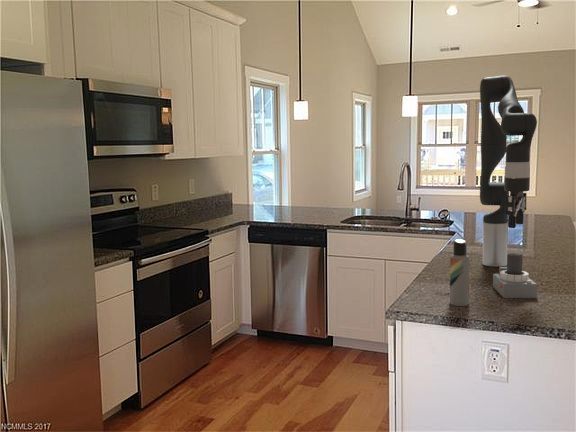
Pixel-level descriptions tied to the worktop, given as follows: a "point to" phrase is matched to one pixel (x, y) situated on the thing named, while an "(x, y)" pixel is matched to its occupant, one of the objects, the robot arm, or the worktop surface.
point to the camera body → (514, 285)
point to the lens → (514, 264)
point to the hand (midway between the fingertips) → (515, 226)
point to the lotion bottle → (459, 274)
